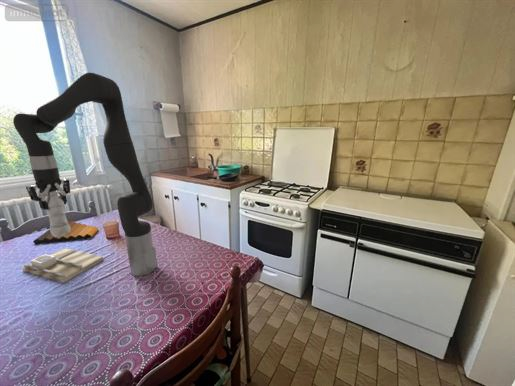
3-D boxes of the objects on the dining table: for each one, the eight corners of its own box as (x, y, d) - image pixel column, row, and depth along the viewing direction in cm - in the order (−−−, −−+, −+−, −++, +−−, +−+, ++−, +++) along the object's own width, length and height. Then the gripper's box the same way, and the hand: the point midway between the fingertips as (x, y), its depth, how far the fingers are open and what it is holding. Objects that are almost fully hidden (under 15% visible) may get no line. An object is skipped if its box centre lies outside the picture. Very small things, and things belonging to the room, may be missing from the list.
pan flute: (61, 224, 133) (34, 245, 110) (59, 219, 132) (32, 239, 109) (108, 220, 140) (92, 239, 117) (107, 215, 139) (90, 233, 116)
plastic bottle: (54, 240, 91) (42, 194, 86) (50, 235, 95) (38, 191, 89) (73, 234, 96) (63, 190, 91) (69, 230, 100) (58, 187, 94)
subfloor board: (103, 259, 98) (102, 254, 97) (64, 282, 83) (62, 276, 83) (65, 251, 104) (64, 246, 104) (23, 270, 90) (21, 265, 89)
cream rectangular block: (56, 262, 93) (54, 256, 92) (42, 269, 88) (40, 262, 87) (46, 260, 94) (44, 253, 93) (32, 266, 90) (30, 259, 89)
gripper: (58, 163, 95) (66, 200, 100) (14, 169, 82) (27, 211, 86) (71, 165, 93) (79, 202, 98) (28, 170, 80) (40, 213, 84)
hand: (54, 206), depth 92 cm, fingers closed on plastic bottle, 6 cm apart
